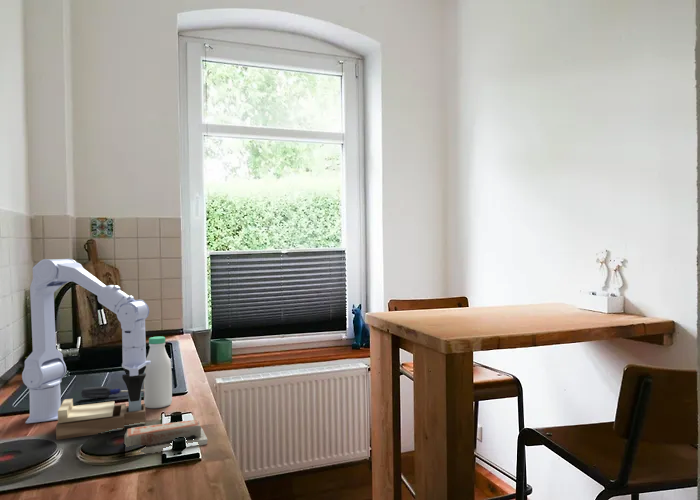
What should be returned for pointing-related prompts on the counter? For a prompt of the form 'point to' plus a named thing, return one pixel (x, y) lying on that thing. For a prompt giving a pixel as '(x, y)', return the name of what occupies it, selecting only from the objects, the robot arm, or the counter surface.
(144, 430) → the packaged product
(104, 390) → the screwdriver
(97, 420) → the wooden compartment box
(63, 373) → the robot arm
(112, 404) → the lid
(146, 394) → the milk bottle
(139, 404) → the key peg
